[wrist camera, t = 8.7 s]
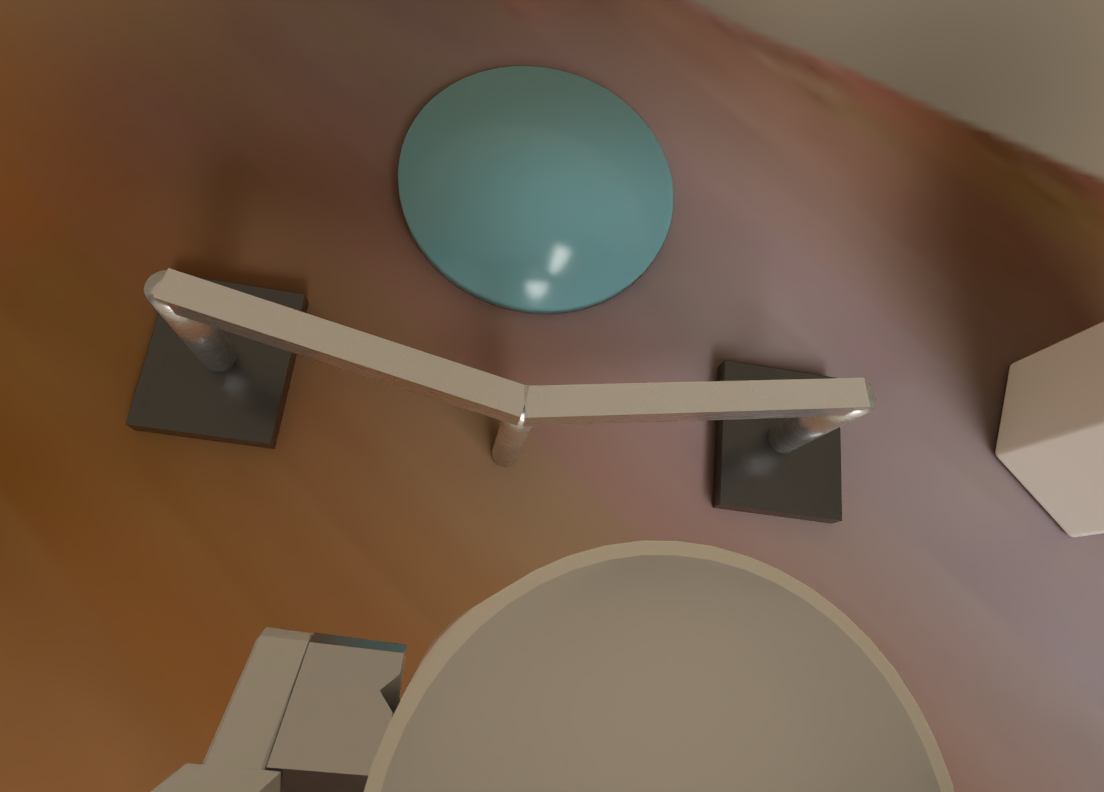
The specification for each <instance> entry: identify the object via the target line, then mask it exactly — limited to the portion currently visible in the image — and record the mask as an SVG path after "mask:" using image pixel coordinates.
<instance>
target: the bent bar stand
mask: <svg viewBox="0 0 1104 792" xmlns="http://www.w3.org/2000/svg"><path fill="white" fill-rule="evenodd" d="M144 294H145V297H146V298H147V300H148V301H149V302H150V303H151V304H152V306H153V307H154V308H155V309H156V310H157V311H158V313H159V314H158V317H157V321H156V324H155V327H154V331H153V334H152V337H151V341H150V344H149V347H148V351H147V354H146V358H145V361H144V364H143V368H142V371H141V374H140V378H139V381H138V384H137V388H136V391H135V394H134V398H133V401H132V404H131V408H130V411H129V415H128V418H127V421H126V425H128V426H129V427H131V428H132V429H134V430H138V431H146V432H153V433H161V434H168V435H176V436H183V437H190V438H198V439H205V440H213V441H220V442H228V443H235V444H243V445H250V446H258V447H265V448H273V449H275V446H276V441H277V437H278V432H279V428H280V424H281V419H282V415H283V411H284V406H285V402H286V398H287V393H288V389H289V385H290V380H291V376H292V371H293V367H294V363H295V358H296V354H298V355H301V356H304V357H307V358H310V359H313V360H316V361H320V362H323V363H326V364H329V365H332V366H335V367H338V368H341V369H344V370H347V371H350V372H353V373H356V374H360V375H363V376H366V377H369V378H372V379H375V380H378V381H381V382H384V383H387V384H390V385H393V386H396V387H400V388H403V389H406V390H409V391H412V392H415V393H418V394H421V395H424V396H427V397H430V398H433V399H436V400H439V401H443V402H446V403H449V404H452V405H455V406H458V407H461V408H464V409H467V410H470V411H473V412H476V413H479V414H483V415H486V416H489V417H492V418H495V419H498V420H501V424H500V427H499V430H498V433H497V436H496V439H495V443H494V446H493V449H492V459H493V461H494V462H495V463H496V464H497V465H499V466H503V467H506V466H510V465H512V464H513V463H514V462H515V460H516V458H517V456H518V454H519V452H520V450H521V448H522V446H523V444H524V442H525V440H526V437H527V435H528V433H529V431H530V429H531V427H532V426H551V425H581V424H612V423H642V422H672V421H703V420H716V442H715V470H714V497H713V508H720V509H728V510H735V511H743V512H750V513H758V514H765V515H773V516H780V517H788V518H795V519H802V520H810V521H817V522H825V523H835V522H839V521H842V500H841V447H840V427H841V426H843V425H845V424H847V423H849V422H851V421H853V420H855V419H857V418H859V417H861V416H863V415H865V414H867V413H869V412H871V411H872V410H873V409H874V408H875V406H876V404H877V395H876V392H875V390H874V388H873V387H872V386H871V385H870V384H869V383H868V382H867V381H865V380H864V378H834V377H828V376H821V375H815V374H809V373H802V372H796V371H790V370H783V369H777V368H770V367H764V366H758V365H751V364H745V363H739V362H732V361H726V360H725V361H724V362H723V363H722V364H721V365H720V366H719V367H718V381H706V382H664V383H622V384H580V385H539V386H526V385H523V384H520V383H517V382H514V381H511V380H508V379H505V378H502V377H499V376H496V375H493V374H490V373H487V372H484V371H481V370H478V369H474V368H471V367H468V366H465V365H462V364H459V363H456V362H453V361H450V360H447V359H444V358H441V357H438V356H435V355H432V354H429V353H426V352H423V351H420V350H417V349H414V348H411V347H408V346H404V345H401V344H398V343H395V342H392V341H389V340H386V339H383V338H380V337H377V336H374V335H371V334H368V333H365V332H362V331H359V330H356V329H353V328H350V327H347V326H344V325H341V324H337V323H334V322H331V321H328V320H325V319H322V318H319V317H316V316H313V315H310V314H307V313H306V310H307V306H308V301H307V299H306V296H305V294H299V293H293V292H287V291H280V290H274V289H267V288H261V287H255V286H248V285H242V284H236V283H229V282H223V281H217V280H210V279H204V278H197V277H194V276H191V275H188V274H185V273H182V272H179V271H176V270H173V269H170V268H168V270H164V271H159V272H157V273H155V274H153V275H152V276H150V277H149V278H148V280H147V281H146V283H145V286H144Z"/></svg>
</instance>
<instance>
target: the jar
mask: <svg viewBox="0 0 1104 792" xmlns="http://www.w3.org/2000/svg"><path fill="white" fill-rule="evenodd" d="M995 454H996V456H997V457H998V459H999V460H1000V461H1001V462H1002V463H1003V464H1004V465H1005V466H1006V467H1007V468H1008V470H1009V471H1010V472H1011V473H1012V474H1013V475H1014V476H1015V477H1016V478H1017V479H1018V481H1019V482H1020V483H1021V484H1022V485H1023V486H1024V487H1025V488H1026V489H1027V490H1028V491H1029V493H1030V494H1031V495H1032V496H1033V497H1034V498H1035V499H1036V500H1037V501H1038V502H1039V504H1040V505H1041V506H1042V507H1043V508H1044V509H1045V510H1046V511H1047V512H1048V513H1049V515H1050V516H1051V517H1052V518H1053V519H1054V520H1055V521H1056V522H1057V523H1058V524H1059V526H1060V527H1061V528H1062V529H1063V530H1064V531H1065V532H1066V533H1067V534H1068V535H1069V536H1071V537H1080V536H1087V535H1094V534H1101V533H1104V321H1103V322H1101V323H1099V324H1097V325H1095V326H1092V327H1090V328H1088V329H1086V330H1084V331H1082V332H1079V333H1077V334H1075V335H1073V336H1071V337H1069V338H1066V339H1064V340H1062V341H1060V342H1058V343H1055V344H1053V345H1051V346H1049V347H1047V348H1045V349H1042V350H1040V351H1038V352H1036V353H1034V354H1032V355H1029V356H1027V357H1025V358H1023V359H1021V360H1019V361H1016V362H1014V363H1013V364H1011V366H1010V368H1009V373H1008V380H1007V386H1006V392H1005V397H1004V403H1003V409H1002V415H1001V421H1000V427H999V433H998V438H997V444H996V450H995Z"/></svg>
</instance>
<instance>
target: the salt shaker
mask: <svg viewBox="0 0 1104 792" xmlns="http://www.w3.org/2000/svg"><path fill="white" fill-rule="evenodd" d="M364 792H954V788H953V785H952V781H951V778H950V776H949V773H948V770H947V768H946V765H945V763H944V760H943V757H942V755H941V752H940V750H939V747H938V744H937V742H936V739H935V737H934V735H933V734H932V732H931V730H930V728H929V726H928V724H927V722H926V720H925V718H924V716H923V714H922V712H921V710H920V708H919V706H918V704H917V702H916V701H915V699H914V698H913V696H912V695H911V693H910V692H909V690H908V688H907V687H906V685H905V684H904V682H903V681H902V679H901V678H900V676H899V675H898V673H897V672H896V670H895V669H894V667H893V666H892V665H891V664H890V662H889V661H888V660H887V659H886V658H885V656H884V655H883V654H882V653H881V652H880V650H879V649H878V648H877V647H876V645H875V644H874V643H873V642H872V641H871V639H870V638H869V637H868V636H867V635H866V634H865V633H864V632H863V631H862V630H861V629H860V628H859V627H857V626H856V625H855V624H854V623H853V622H852V621H851V620H850V619H849V618H848V617H847V616H846V615H845V614H844V613H843V612H842V611H841V610H839V609H838V608H837V607H835V606H834V605H833V604H832V603H830V602H829V601H828V600H826V599H825V598H824V597H822V596H821V595H820V594H818V593H817V592H816V591H814V590H813V589H812V588H810V587H808V586H807V585H805V584H803V583H802V582H800V581H798V580H797V579H795V578H793V577H791V576H790V575H788V574H786V573H785V572H783V571H781V570H779V569H777V568H775V567H772V566H770V565H768V564H765V563H763V562H760V561H758V560H756V559H753V558H751V557H749V556H746V555H743V554H739V553H736V552H732V551H729V550H725V549H721V548H718V547H714V546H710V545H702V544H695V543H688V542H681V541H635V542H628V543H620V544H613V545H606V546H601V547H598V548H594V549H591V550H587V551H583V552H580V553H576V554H573V555H569V556H567V557H564V558H562V559H560V560H557V561H555V562H553V563H550V564H548V565H546V566H544V567H541V568H539V569H537V570H534V571H533V572H531V573H529V574H528V575H526V576H524V577H523V578H521V579H519V580H518V581H516V582H514V583H513V584H511V585H509V586H508V587H506V588H504V589H503V590H501V591H499V592H498V593H496V594H494V595H493V596H491V597H489V598H488V599H486V600H484V601H483V602H481V603H479V604H478V605H476V606H474V607H473V608H471V609H469V610H468V611H466V612H464V613H463V614H461V615H459V616H458V617H457V618H456V619H454V620H453V621H452V622H451V623H449V624H448V625H447V626H446V627H445V628H444V629H443V630H442V631H441V632H440V633H439V634H438V635H437V637H436V638H435V639H434V641H433V642H432V643H431V645H430V646H429V647H428V649H427V651H426V652H425V654H424V656H423V657H422V659H421V661H420V663H419V665H418V667H417V669H416V671H415V673H414V675H413V677H412V679H411V681H410V683H409V685H408V687H407V689H406V691H405V693H404V695H403V697H402V699H401V701H400V703H399V705H398V707H397V709H396V711H395V713H394V715H393V717H392V719H391V721H390V723H389V725H388V728H387V730H386V732H385V735H384V737H383V739H382V742H381V744H380V746H379V749H378V751H377V753H376V756H375V758H374V760H373V763H372V766H371V769H370V772H369V776H368V779H367V782H366V786H365V789H364Z"/></svg>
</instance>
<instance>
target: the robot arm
mask: <svg viewBox="0 0 1104 792" xmlns="http://www.w3.org/2000/svg"><path fill="white" fill-rule="evenodd" d="M405 655H406V645H404V644H397V643H389V642H382V641H374V640H367V639H359V638H352V637H344V636H337V635H329V634H321V633H307V632H300V631H292V630H285V629H277V628H270V627H266V628H265V629H264V631H263V632H262V633H261V634H260V635H259V637H258V638H257V639H256V642H255V644H254V646H253V649H252V651H251V653H250V656H249V658H248V660H247V662H246V665H245V667H244V669H243V672H242V674H241V676H240V679H239V681H238V683H237V685H236V688H235V690H234V692H233V695H232V697H231V699H230V702H229V704H228V706H227V708H226V711H225V713H224V715H223V718H222V720H221V722H220V725H219V727H218V729H217V731H216V734H215V736H214V738H213V741H212V743H211V745H210V748H209V750H208V752H207V754H206V757H205V759H204V761H203V764H192V763H186V764H184V765H183V766H182V767H181V768H179V769H178V770H177V771H175V772H174V773H173V774H172V775H170V776H169V777H168V778H167V779H165V780H164V781H163V782H161V783H160V784H159V785H158V786H156V787H155V788H154V789H152V790H151V791H150V792H364V789H365V786H366V782H367V779H368V776H369V772H370V769H371V766H372V763H373V760H374V758H375V756H376V753H377V751H378V749H379V746H380V744H381V742H382V739H383V737H384V735H385V732H386V730H387V728H388V725H389V723H390V721H391V719H392V717H393V715H394V713H395V711H396V709H397V707H398V705H399V703H400V697H399V695H400V689H401V683H402V678H403V672H404V665H405Z"/></svg>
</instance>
